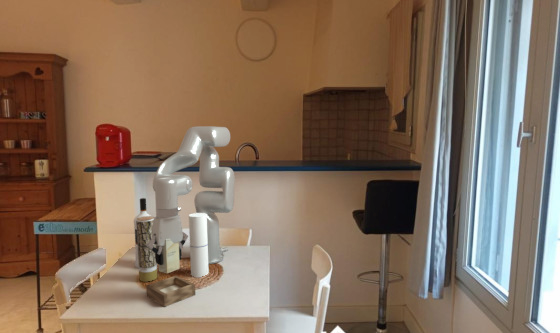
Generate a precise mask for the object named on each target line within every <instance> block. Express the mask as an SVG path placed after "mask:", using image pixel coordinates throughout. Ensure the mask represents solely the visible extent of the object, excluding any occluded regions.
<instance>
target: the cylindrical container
mask: <svg viewBox="0 0 560 333" xmlns="http://www.w3.org/2000/svg"><path fill="white" fill-rule="evenodd" d="M188 228H189V230H188V231H189V234H188V235H189V249H190V250H189V254H190V258H189V259H190V275H192V276H191V277H193V276H194V277H193V278H203V277H202V276H205V275H207V274H208V273H209V264H208V238H207V214H206V213H196V212H194V213H190V214H188ZM208 275H209V274H208ZM208 275H207V276H208ZM205 277H206V276H205Z"/></svg>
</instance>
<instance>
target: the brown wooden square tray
mask: <svg viewBox="0 0 560 333" xmlns="http://www.w3.org/2000/svg"><path fill="white" fill-rule="evenodd" d="M145 290H146V297H147V298H149V299H151V300H152V301H154V302H155V303H158V304H160V305H161V306H163V307H164V308H165V307H169V306H170V305H173V304H175V303H179V302H182V301H183V300H185V299H189V298H191V297H193V296H196V284H194V283H193V282H191V281H188V280H187V279H185V278H183V277H180V276H178V275H174V276H171V277H168V278H165V279H161V280H159V281H155V282H152V283H150V284H147V285H145Z"/></svg>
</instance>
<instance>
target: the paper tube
mask: <svg viewBox="0 0 560 333" xmlns="http://www.w3.org/2000/svg"><path fill="white" fill-rule="evenodd" d="M153 220H154V216H152V215H151V216H144V217H139V218H137V219H136V225H137V243H138V261H139V268H138V275H139V276H138V278H139V280H140V281H141V282H143V283H149V282H148V281H150V282H153V281H156V279H157V278H158V264H157V263H156V255H155V253H154V252H153V251H152V250H151V249H150V248H148V247H147V244H148V243H149V241H150V240H151V239H152V227H153ZM153 246H154V247H156V244H153ZM152 280H153V281H152Z"/></svg>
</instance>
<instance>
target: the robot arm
mask: <svg viewBox="0 0 560 333" xmlns="http://www.w3.org/2000/svg"><path fill="white" fill-rule="evenodd" d="M230 142H231V132H230V130H229V129H228V128H227V127H225V126H212V125H210V126H205V125H204V126H203V125H202V126H191V127H190V128H188V129H187V130H186V132H185V134H184V136H183V139H182V141H181V144H180V146H179V148H178V150H177V151H176V152H175V153H174V154H172V155H171V156H169V157H167V159H165V160H164V161H163V162H162V163H160V165H159V166H158V168H157V170H156V173H155V174H154V177H153V180H152V189H153V192H154V195H155V197H154V198H155V215H156V216H155V217H154V216H153V217H154V220H153V227H152V239H151V240H150V241H149V243H148V244H147V247H148V248H150V249H151V250H152V251H153V252H154V253H155V255H156V263H157V265H158V266H159V265H162V264H163V255H162V254H161V251H162V249H163V246H165V240H167V239H171V241H172V242H173V243H178V242H179V261H180V260H182V249H183V247H184V245H185V243H186V241H187V240H188V238H189V234H187V233H185V232H184V231H183V225H182V219H181V215H180V214H179V212H180V211H181V209H182V208H181V207H179V205H178V204H179V202H178V200H179V199H178V197H179V196H180V197H181V196H185V195H188V194H189V193H191V191H192V189H193V185H194V184H193V183H194V182H193V180H192V179H191V178H192V177H190V176H188V175H185V174H174V173H175V172H178V171H180V170H183V169H187V168H188V167H191V166H194V165H195V164H196V163H198V162H199V175H198V181H199V184H200V186H201V187H202V188H207V189H208V188H209V189H222V190H220V191H219V190H202V191H198V192H197V193H196V194H195V196H194V202H193V203H194V207H195V213H206V214H207V238H208V265H211V264H218V263H220V262H222V261H223V260H224V255H223V253H225V252H228V251H229V247H227V246H225V247H222V246H221V247H220V242H221V241H220V221H219V218H218V216H217V215H216V214H215V213H217V214H218V213H219V214H222V213H224V214H227V213H231V212H232V211H233V208H234V205H235V204H234V203H235V190H236V189H235V187H236V186H235V183H236V179H235V178H236V177H235V172H234V170H233V169H232V168H231V167H230V166H229V167H228V166H220V155H219V153H218V151H217V150H216V148H223V147H227V146H228V145H229V143H230ZM153 244H156V247H154V246H153Z"/></svg>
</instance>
